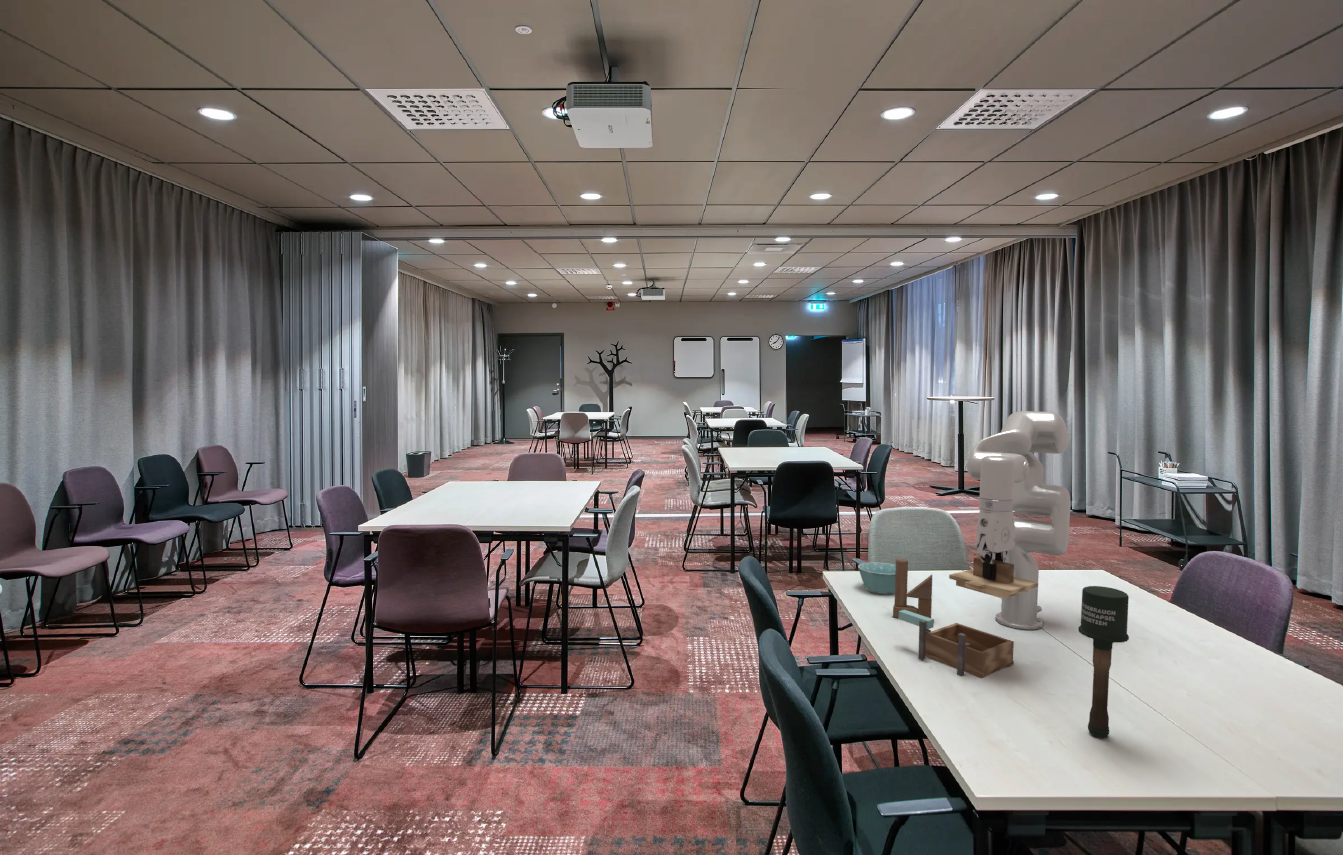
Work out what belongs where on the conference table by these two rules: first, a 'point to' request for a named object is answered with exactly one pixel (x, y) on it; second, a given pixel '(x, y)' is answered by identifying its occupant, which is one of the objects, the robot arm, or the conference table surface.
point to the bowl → (878, 577)
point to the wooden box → (965, 649)
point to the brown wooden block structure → (911, 592)
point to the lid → (1000, 586)
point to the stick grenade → (1102, 645)
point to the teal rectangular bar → (915, 618)
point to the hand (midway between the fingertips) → (993, 576)
